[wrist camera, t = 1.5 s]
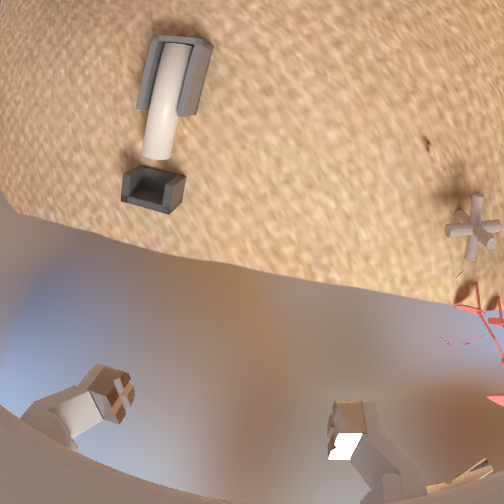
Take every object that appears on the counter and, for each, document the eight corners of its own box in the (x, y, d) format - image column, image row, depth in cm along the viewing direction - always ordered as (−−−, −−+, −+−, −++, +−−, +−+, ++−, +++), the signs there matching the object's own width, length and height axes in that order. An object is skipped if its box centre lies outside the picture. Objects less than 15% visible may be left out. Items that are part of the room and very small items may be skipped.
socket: (139, 165, 40) (123, 173, 36) (186, 176, 40) (173, 186, 36) (136, 190, 42) (120, 201, 38) (181, 202, 42) (169, 214, 38)
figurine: (452, 264, 41) (546, 445, 11) (516, 303, 43) (582, 428, 13) (404, 327, 49) (446, 504, 19) (475, 352, 51) (518, 477, 21)
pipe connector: (434, 185, 36) (468, 210, 27) (484, 183, 34) (521, 206, 25) (431, 246, 40) (457, 281, 32) (478, 240, 39) (508, 271, 30)
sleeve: (168, 41, 31) (153, 34, 27) (213, 46, 31) (203, 38, 27) (152, 107, 36) (135, 108, 31) (195, 114, 36) (183, 116, 32)
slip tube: (171, 46, 30) (159, 41, 27) (199, 49, 30) (190, 44, 27) (149, 150, 38) (136, 155, 34) (175, 155, 38) (163, 161, 34)
